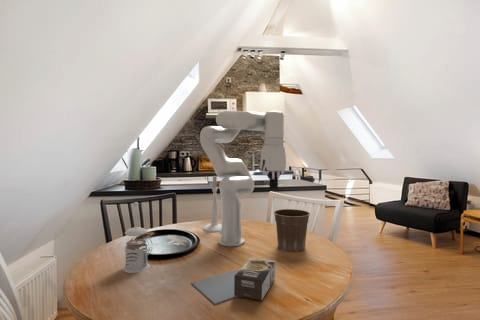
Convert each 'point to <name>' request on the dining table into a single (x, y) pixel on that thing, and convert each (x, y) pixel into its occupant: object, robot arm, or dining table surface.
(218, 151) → the robot arm
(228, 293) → the mat
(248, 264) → the coffee box
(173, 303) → the dining table surface
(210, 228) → the candlestick
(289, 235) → the plant pot
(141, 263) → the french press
